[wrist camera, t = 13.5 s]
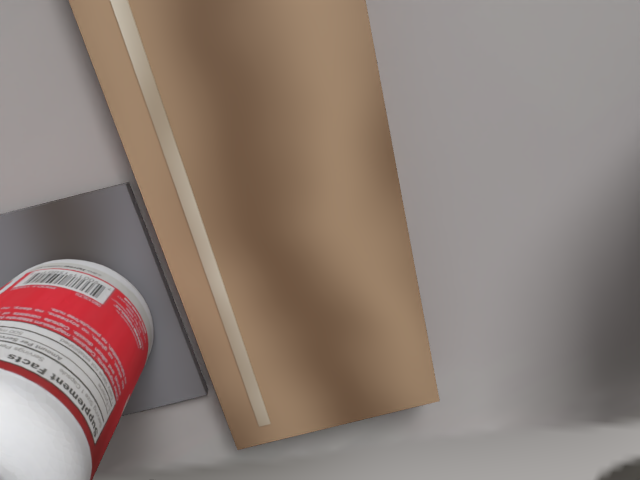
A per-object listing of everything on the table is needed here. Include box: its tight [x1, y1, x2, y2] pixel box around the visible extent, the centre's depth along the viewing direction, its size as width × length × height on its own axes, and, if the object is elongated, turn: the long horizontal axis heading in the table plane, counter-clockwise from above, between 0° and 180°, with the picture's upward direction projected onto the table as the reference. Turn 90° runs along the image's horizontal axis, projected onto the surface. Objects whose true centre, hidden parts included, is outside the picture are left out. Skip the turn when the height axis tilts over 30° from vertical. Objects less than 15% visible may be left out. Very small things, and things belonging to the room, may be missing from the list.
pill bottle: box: [0, 259, 154, 480], centre depth 15 cm, size 6×6×11 cm
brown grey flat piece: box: [0, 0, 439, 450], centre depth 17 cm, size 18×28×2 cm, turn 13°
